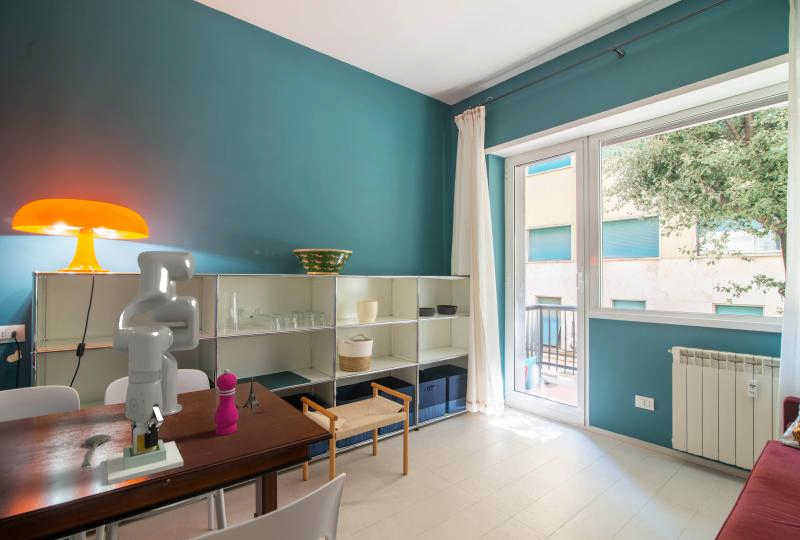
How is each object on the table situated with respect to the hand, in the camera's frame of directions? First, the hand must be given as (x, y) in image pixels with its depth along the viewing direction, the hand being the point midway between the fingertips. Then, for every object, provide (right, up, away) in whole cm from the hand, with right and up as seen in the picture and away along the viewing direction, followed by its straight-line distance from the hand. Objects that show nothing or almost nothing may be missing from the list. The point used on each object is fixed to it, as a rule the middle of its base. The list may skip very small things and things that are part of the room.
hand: (144, 443), depth 106 cm
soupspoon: (-19, -6, +7) cm, 21 cm away
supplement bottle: (0, -3, 0) cm, 3 cm away
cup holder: (0, -5, 0) cm, 5 cm away
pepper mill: (+12, -6, +22) cm, 25 cm away
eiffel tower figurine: (+12, -6, +44) cm, 46 cm away
